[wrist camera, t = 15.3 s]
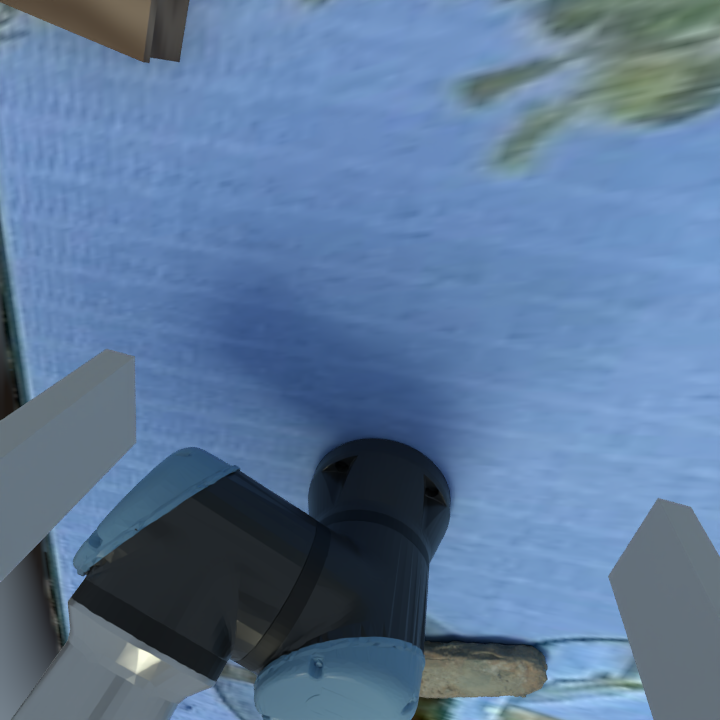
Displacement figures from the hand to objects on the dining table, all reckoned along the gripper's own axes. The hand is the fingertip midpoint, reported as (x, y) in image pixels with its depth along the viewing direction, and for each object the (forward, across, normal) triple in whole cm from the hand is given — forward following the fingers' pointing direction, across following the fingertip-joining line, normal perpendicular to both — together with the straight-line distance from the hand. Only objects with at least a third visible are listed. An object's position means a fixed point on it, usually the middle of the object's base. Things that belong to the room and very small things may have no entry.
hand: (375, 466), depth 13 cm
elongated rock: (+33, -12, +56) cm, 66 cm away
